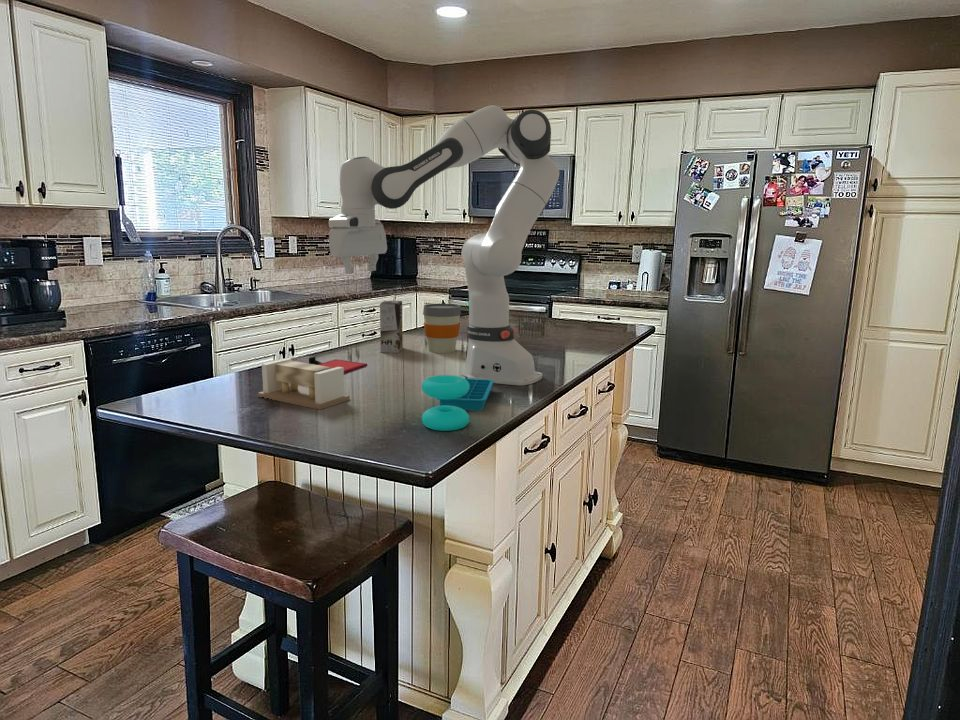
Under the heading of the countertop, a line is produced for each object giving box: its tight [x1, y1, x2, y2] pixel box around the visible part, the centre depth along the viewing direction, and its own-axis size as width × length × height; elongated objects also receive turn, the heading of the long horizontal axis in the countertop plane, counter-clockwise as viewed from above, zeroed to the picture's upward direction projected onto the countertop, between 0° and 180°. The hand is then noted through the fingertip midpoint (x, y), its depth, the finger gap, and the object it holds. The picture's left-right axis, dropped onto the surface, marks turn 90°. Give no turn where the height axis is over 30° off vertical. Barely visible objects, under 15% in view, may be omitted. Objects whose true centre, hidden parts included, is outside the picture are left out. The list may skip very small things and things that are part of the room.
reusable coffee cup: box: [422, 303, 462, 354], centre depth 212 cm, size 13×13×15 cm
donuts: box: [421, 374, 470, 432], centre depth 134 cm, size 10×10×10 cm
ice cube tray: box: [437, 377, 495, 411], centre depth 155 cm, size 12×20×3 cm, turn 173°
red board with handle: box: [308, 356, 368, 375], centre depth 179 cm, size 30×3×15 cm
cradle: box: [257, 357, 350, 411], centre depth 153 cm, size 20×10×8 cm, turn 60°
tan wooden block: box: [275, 360, 331, 388], centre depth 152 cm, size 13×5×4 cm, turn 60°
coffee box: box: [379, 300, 403, 354], centre depth 211 cm, size 9×6×16 cm
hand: (361, 272), depth 174 cm, fingers open, 8 cm apart
